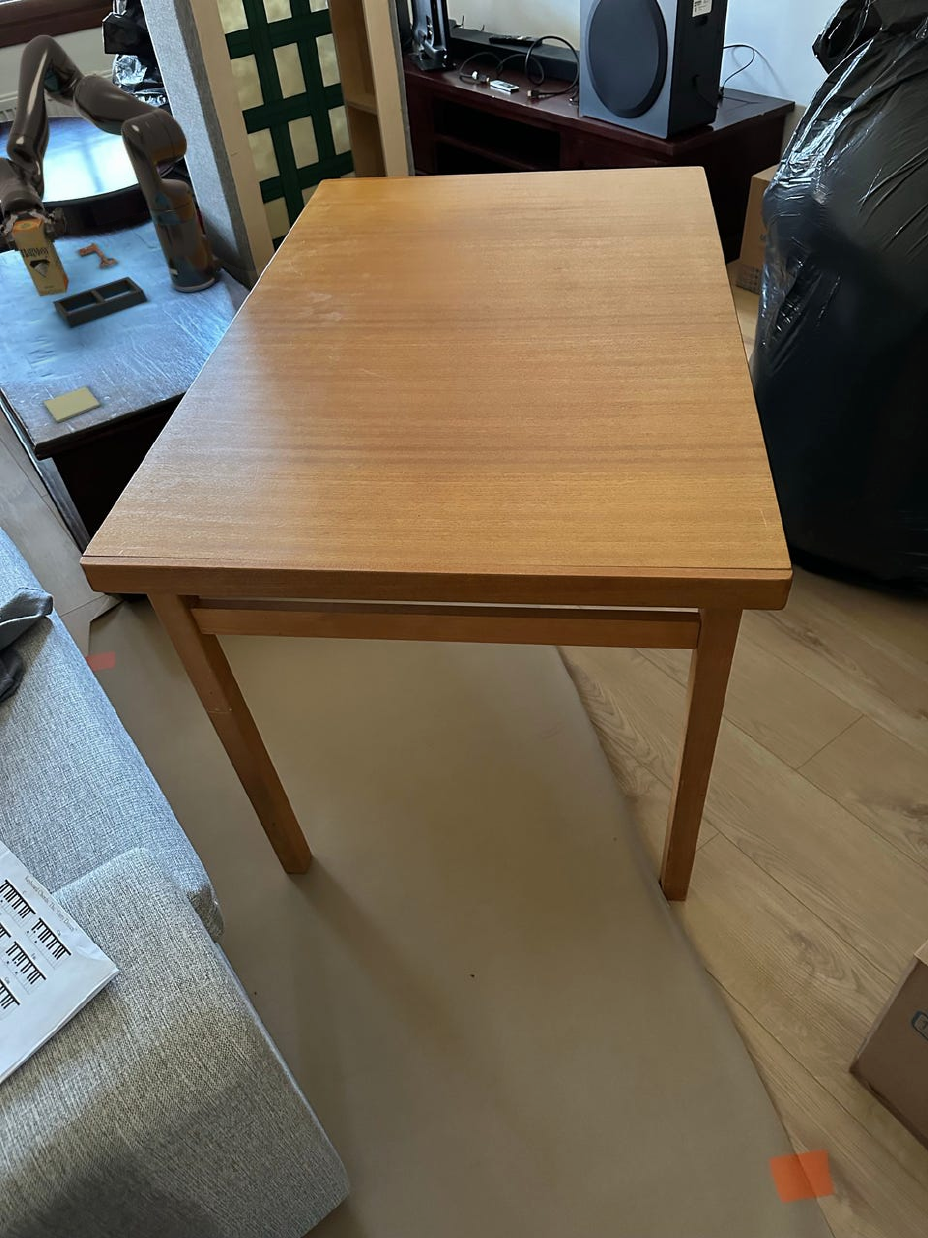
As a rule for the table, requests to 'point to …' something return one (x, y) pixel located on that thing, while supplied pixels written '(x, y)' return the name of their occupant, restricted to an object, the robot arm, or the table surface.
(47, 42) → the robot arm
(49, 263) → the shoe polish box
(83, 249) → the key
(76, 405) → the mat
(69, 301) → the holder
